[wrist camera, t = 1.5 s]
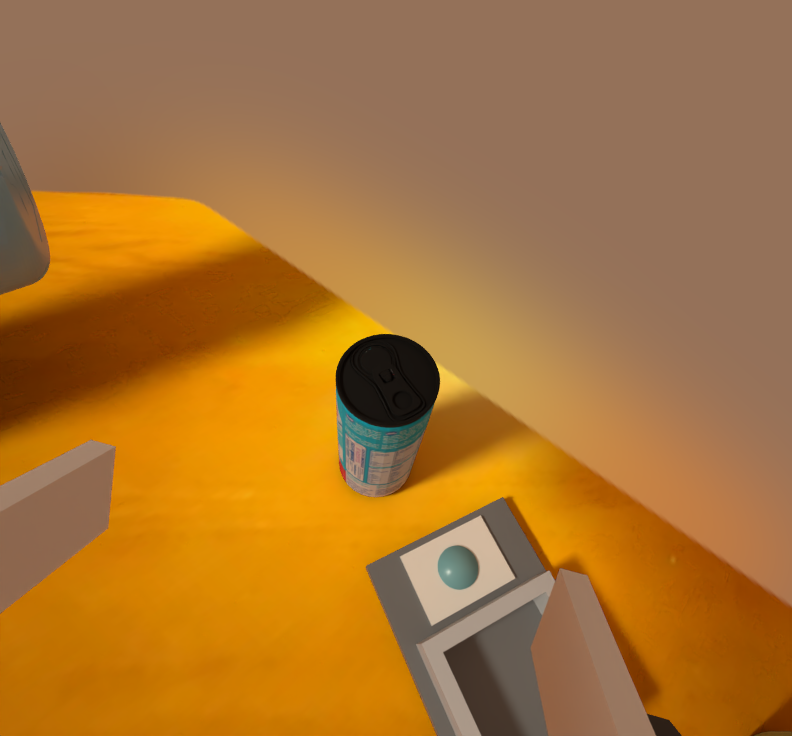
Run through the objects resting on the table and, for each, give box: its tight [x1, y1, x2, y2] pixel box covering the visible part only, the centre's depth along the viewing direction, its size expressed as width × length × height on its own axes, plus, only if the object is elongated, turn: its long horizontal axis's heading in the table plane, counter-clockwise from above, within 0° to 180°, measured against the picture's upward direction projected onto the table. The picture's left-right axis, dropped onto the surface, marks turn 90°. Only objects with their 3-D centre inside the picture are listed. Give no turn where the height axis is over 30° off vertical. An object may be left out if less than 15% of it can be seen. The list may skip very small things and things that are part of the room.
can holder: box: [366, 497, 555, 736], centre depth 32 cm, size 18×12×4 cm, turn 26°
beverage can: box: [336, 334, 440, 497], centre depth 34 cm, size 6×6×15 cm
